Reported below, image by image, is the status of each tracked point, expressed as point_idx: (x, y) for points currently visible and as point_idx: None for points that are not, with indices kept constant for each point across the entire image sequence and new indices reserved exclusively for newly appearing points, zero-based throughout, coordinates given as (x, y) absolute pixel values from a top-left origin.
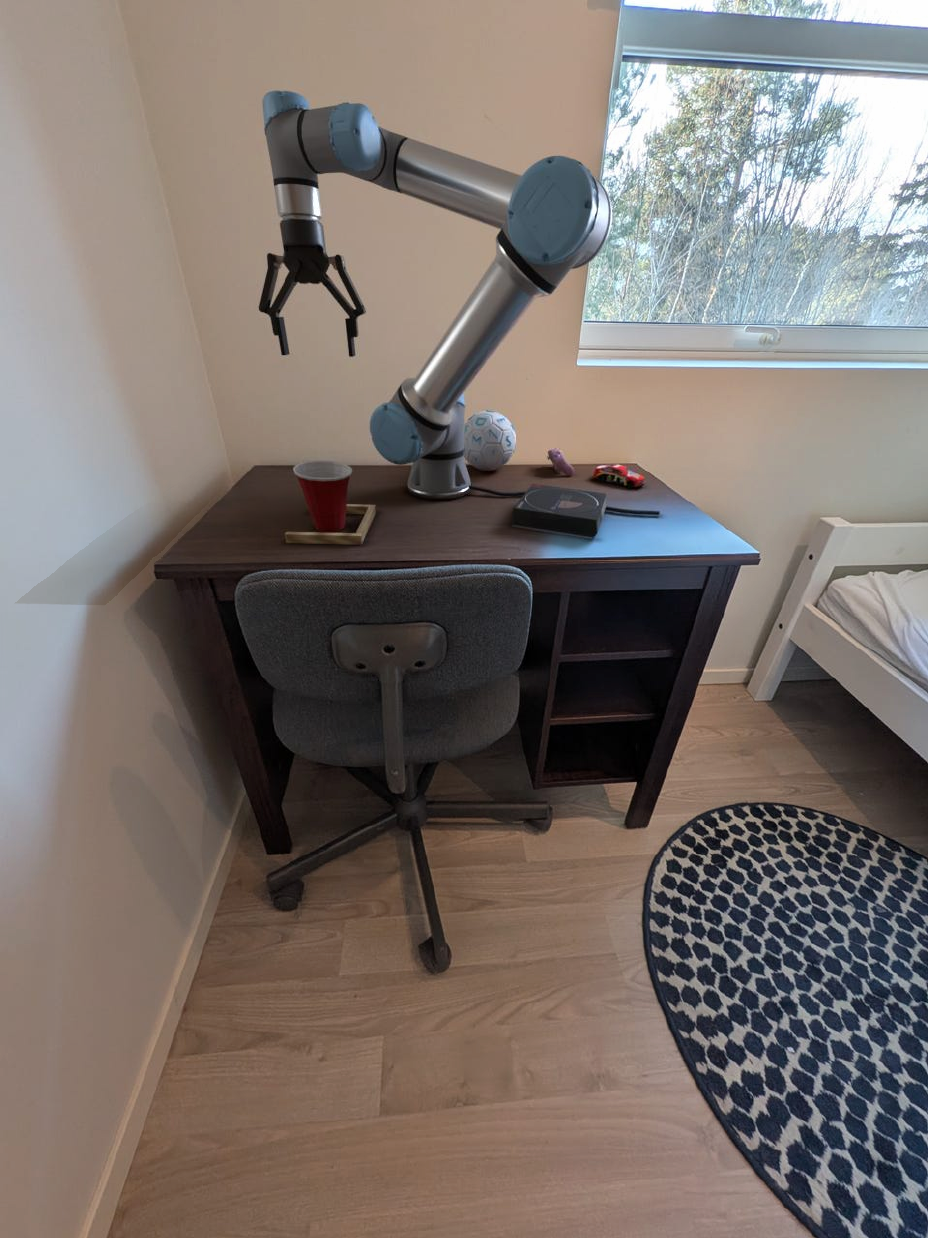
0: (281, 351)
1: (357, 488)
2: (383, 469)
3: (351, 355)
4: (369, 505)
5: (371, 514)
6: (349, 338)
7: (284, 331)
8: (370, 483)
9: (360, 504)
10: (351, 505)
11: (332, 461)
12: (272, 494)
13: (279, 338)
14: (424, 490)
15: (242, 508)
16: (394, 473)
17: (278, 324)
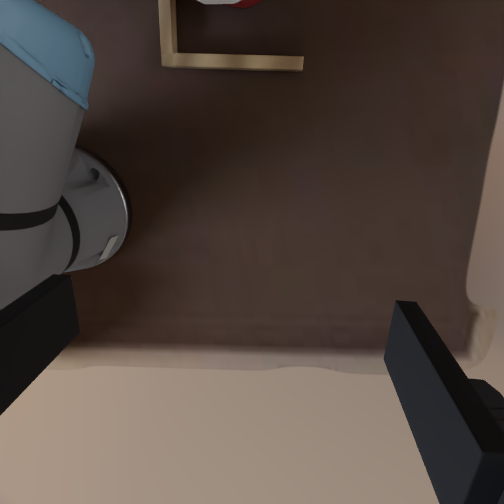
0: (419, 310)
1: (232, 215)
2: (202, 326)
3: (55, 275)
4: (172, 59)
5: (159, 6)
6: (2, 315)
7: (422, 420)
8: (212, 245)
9: (192, 65)
10: (209, 57)
11: (211, 2)
12: (401, 177)
13: (443, 347)
14: (79, 152)
15: (453, 85)
16: (176, 303)
17: (471, 406)
